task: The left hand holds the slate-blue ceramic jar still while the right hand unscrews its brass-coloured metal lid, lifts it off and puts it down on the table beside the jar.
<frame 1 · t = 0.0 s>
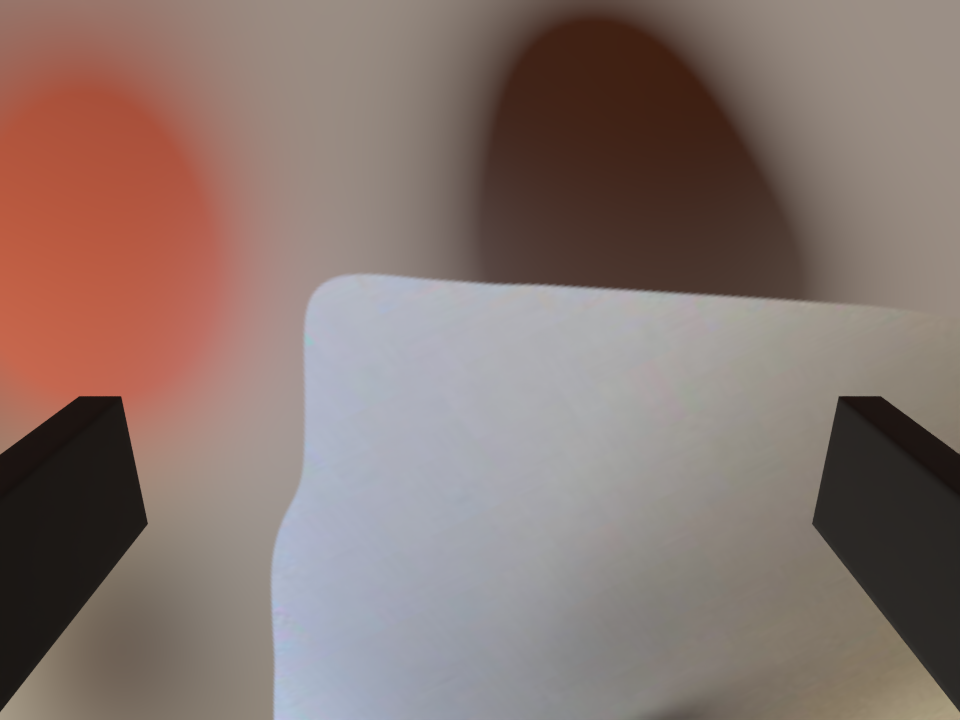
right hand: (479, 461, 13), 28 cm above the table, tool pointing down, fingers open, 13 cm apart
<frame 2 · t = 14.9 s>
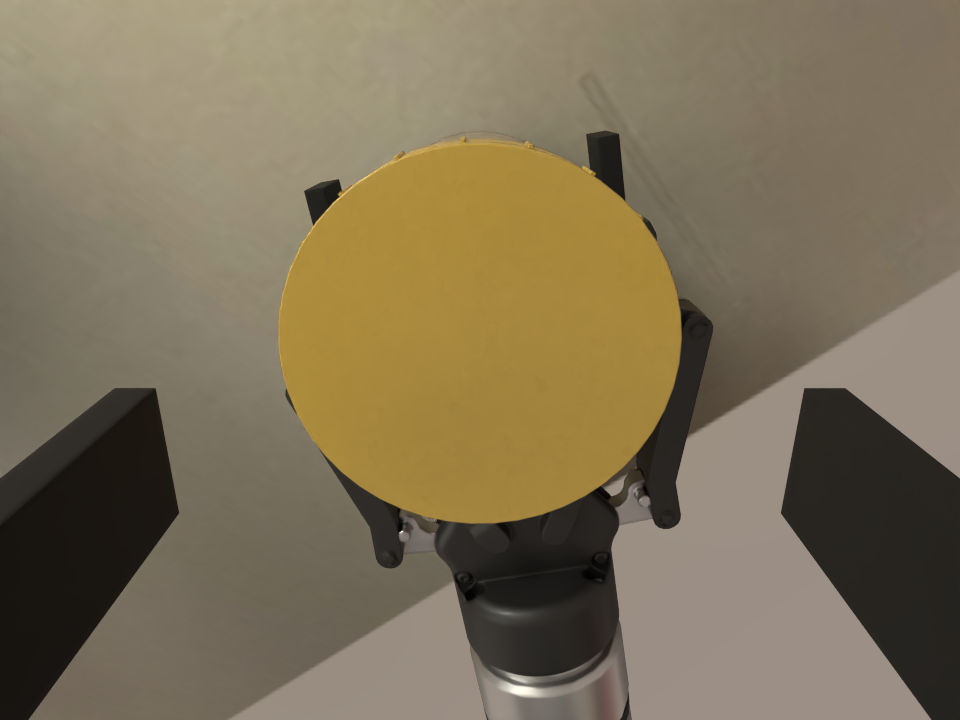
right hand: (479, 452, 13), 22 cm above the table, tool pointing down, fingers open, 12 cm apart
left hand: (460, 159, 25), fingers closed on jar, 10 cm apart
jar: (480, 238, 33), on the table, touching left hand
lid: (479, 349, 18), point 16 cm above the table, screwed on, not yet turned
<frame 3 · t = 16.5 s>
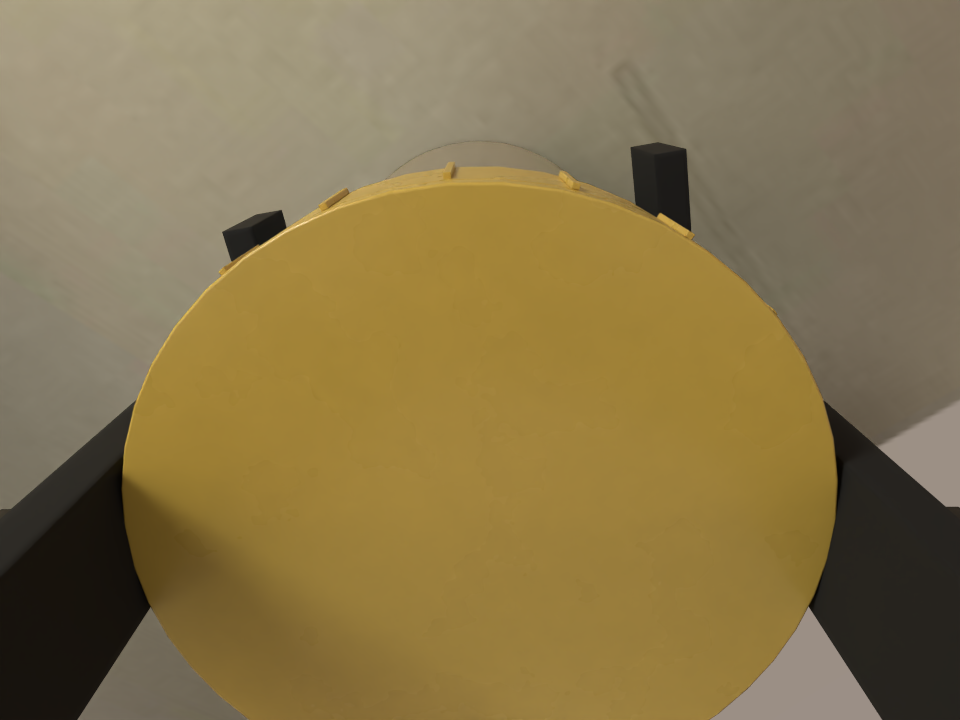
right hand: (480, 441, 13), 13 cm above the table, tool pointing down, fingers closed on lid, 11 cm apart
jar: (479, 278, 25), on the table, touching left hand
lid: (479, 530, 11), point 16 cm above the table, screwed on, not yet turned, touching right hand
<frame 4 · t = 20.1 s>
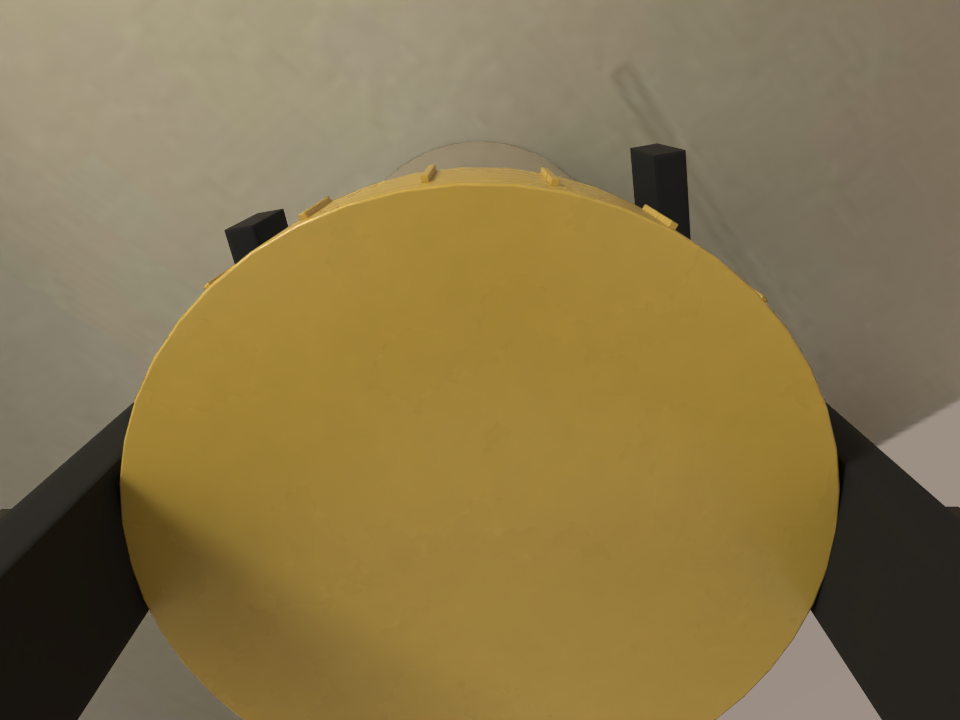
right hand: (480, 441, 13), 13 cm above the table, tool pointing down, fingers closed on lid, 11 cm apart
jar: (479, 278, 26), on the table, touching left hand
lid: (479, 533, 11), point 16 cm above the table, turned 111° so far, risen 0.2 cm, still on its thread, touching right hand
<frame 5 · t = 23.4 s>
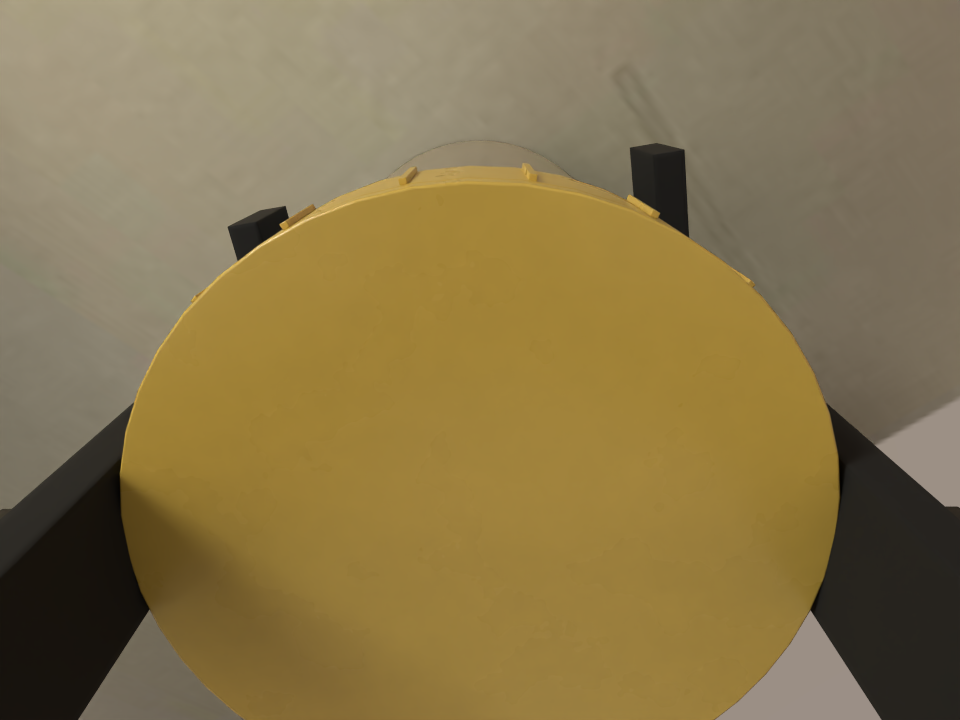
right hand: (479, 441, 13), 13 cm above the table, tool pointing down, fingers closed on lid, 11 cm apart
jar: (479, 276, 26), on the table, touching left hand
lid: (480, 532, 10), point 16 cm above the table, turned 223° so far, risen 0.4 cm, still on its thread, touching right hand
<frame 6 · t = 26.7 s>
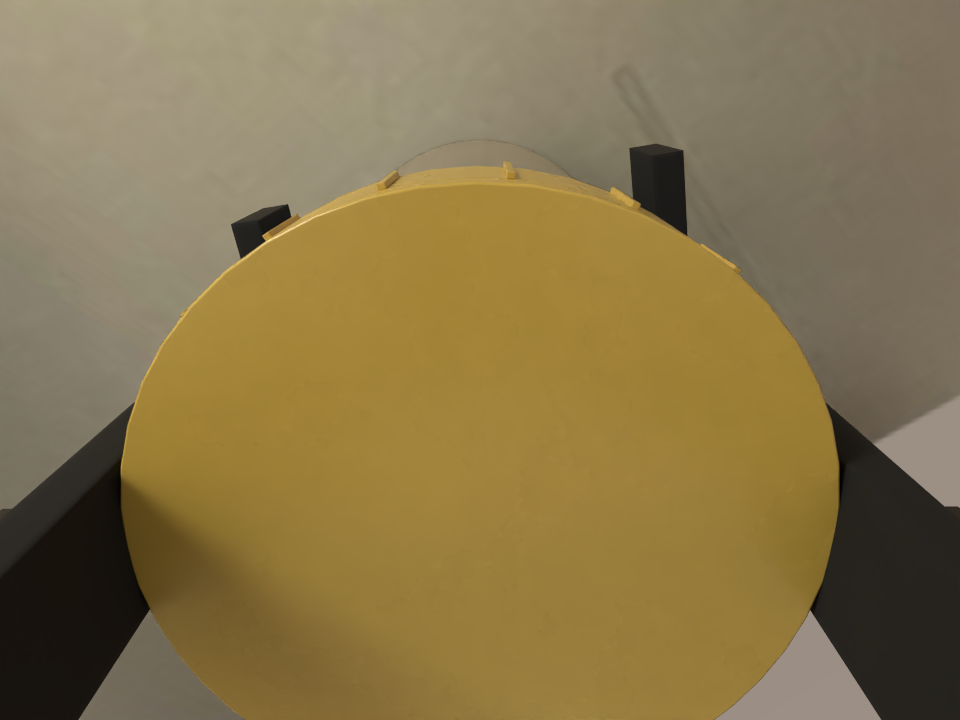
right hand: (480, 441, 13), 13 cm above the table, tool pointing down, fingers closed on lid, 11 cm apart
jar: (479, 275, 26), on the table, touching left hand
lid: (480, 532, 11), point 16 cm above the table, turned 334° so far, risen 0.6 cm, still on its thread, touching right hand
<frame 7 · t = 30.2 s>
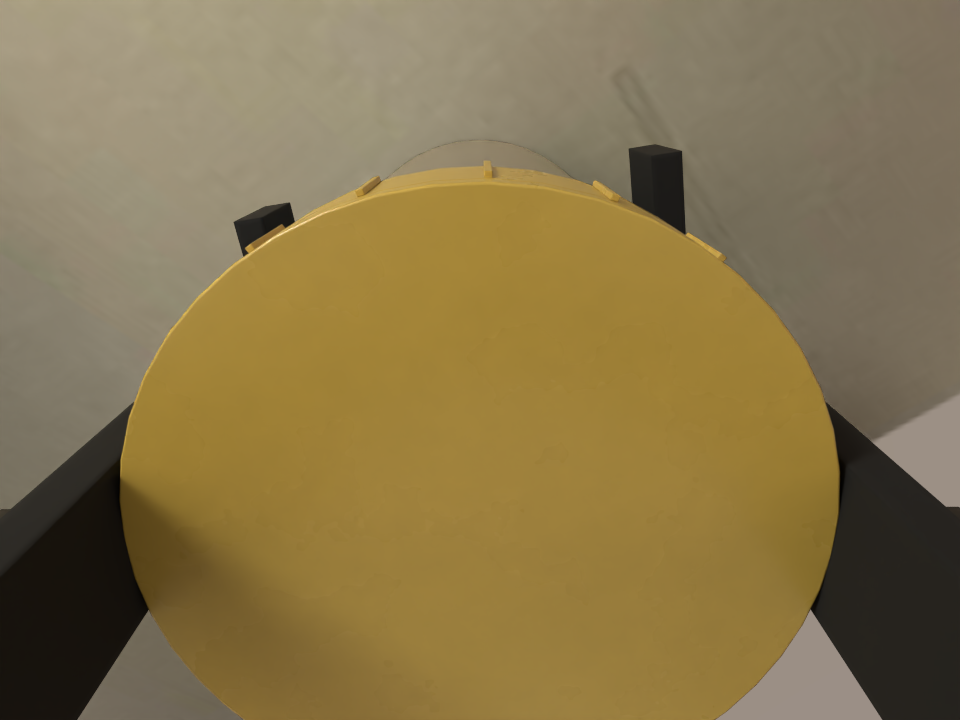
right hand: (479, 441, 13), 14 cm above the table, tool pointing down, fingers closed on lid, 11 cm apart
jar: (479, 274, 26), on the table, touching left hand
lid: (479, 533, 10), point 17 cm above the table, turned 445° so far, risen 0.7 cm, still on its thread, touching right hand
when the right hand's fingers open (1 cm above the table, at t = 37.1 s): lid drops 2 cm, point 2 cm above the table.
when the left hand's fingers open (7 cm above the table, at t = 38.1 s): jar stays where it is, on the table.
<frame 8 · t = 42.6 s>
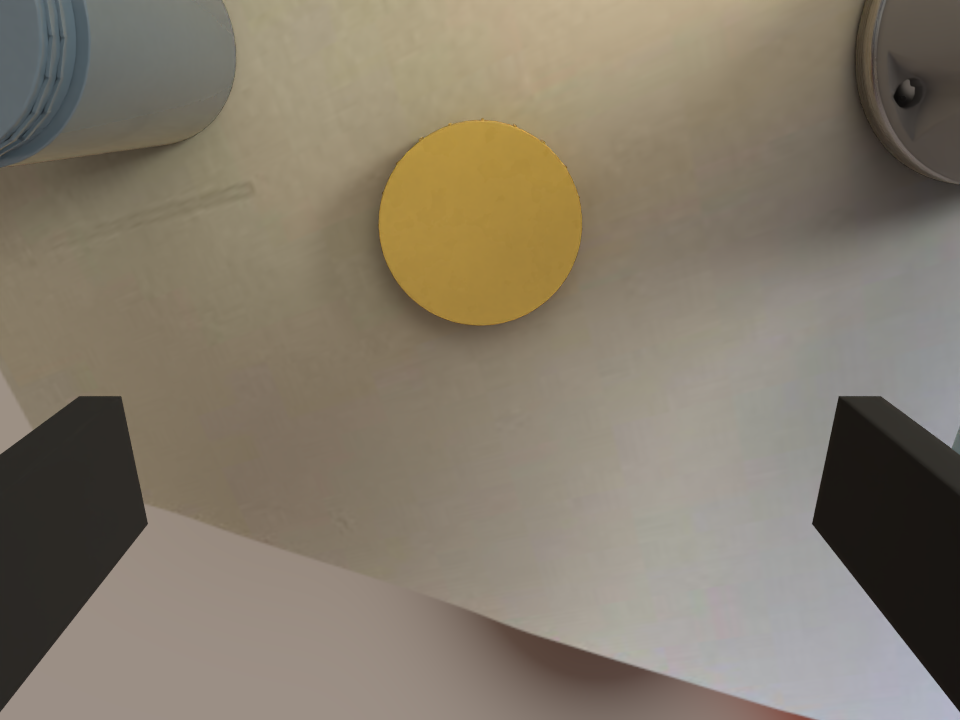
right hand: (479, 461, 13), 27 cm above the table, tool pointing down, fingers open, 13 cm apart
jar: (138, 43, 34), on the table
lid: (480, 227, 36), point 2 cm above the table, off its thread
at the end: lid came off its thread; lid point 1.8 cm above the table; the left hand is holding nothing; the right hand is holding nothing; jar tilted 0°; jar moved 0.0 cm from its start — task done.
